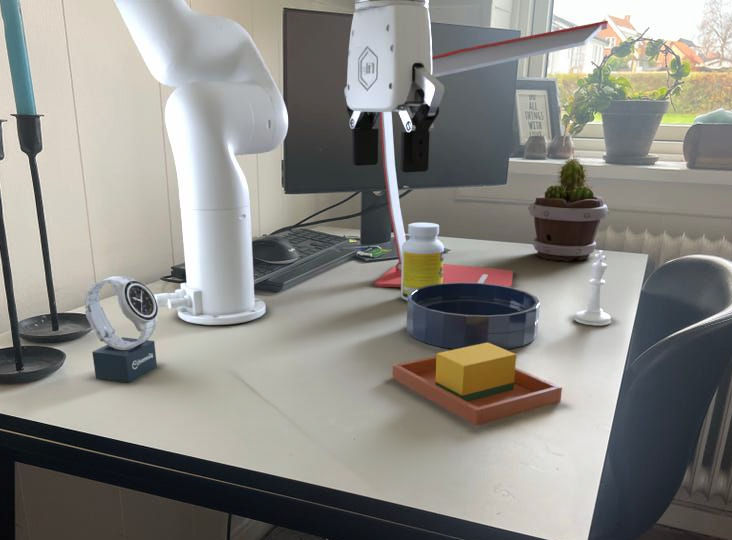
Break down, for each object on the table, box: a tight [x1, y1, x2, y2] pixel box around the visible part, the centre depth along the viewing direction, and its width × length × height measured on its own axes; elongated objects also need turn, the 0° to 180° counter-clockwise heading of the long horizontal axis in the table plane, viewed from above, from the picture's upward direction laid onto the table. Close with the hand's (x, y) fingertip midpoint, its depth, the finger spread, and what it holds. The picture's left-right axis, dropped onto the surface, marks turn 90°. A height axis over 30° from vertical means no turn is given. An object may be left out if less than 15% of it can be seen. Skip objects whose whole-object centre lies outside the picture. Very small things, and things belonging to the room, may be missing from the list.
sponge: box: [435, 343, 517, 401], centre depth 74 cm, size 7×4×4 cm, turn 121°
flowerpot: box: [527, 153, 610, 262], centre depth 139 cm, size 14×15×20 cm
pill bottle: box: [400, 222, 445, 302], centre depth 109 cm, size 6×6×12 cm
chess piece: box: [574, 250, 612, 327], centre depth 99 cm, size 5×5×10 cm
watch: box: [84, 275, 159, 384], centre depth 79 cm, size 6×8×11 cm
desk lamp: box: [374, 20, 609, 288], centre depth 116 cm, size 18×38×40 cm, turn 72°
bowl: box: [406, 282, 541, 350], centre depth 94 cm, size 17×17×5 cm
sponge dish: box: [391, 355, 563, 426], centre depth 75 cm, size 11×14×2 cm
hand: (388, 168), depth 78 cm, fingers open, 9 cm apart
